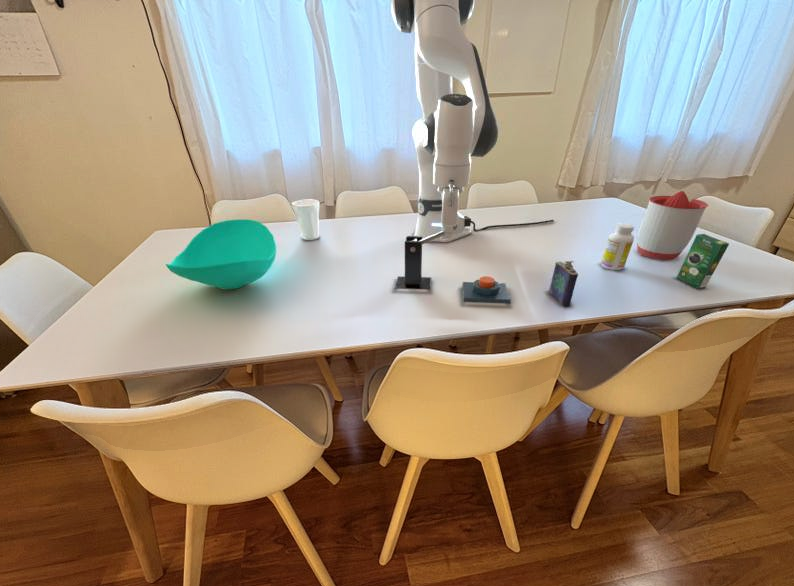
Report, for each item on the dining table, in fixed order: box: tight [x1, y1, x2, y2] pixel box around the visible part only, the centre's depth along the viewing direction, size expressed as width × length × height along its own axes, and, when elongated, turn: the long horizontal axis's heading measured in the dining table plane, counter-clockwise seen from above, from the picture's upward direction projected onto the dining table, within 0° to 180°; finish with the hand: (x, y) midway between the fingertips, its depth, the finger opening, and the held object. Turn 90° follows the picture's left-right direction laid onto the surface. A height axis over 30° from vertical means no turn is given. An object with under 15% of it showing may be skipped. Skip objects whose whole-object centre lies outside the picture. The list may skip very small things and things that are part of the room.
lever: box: [412, 230, 445, 246], centre depth 100 cm, size 12×5×2 cm, turn 83°
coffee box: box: [676, 233, 730, 290], centre depth 104 cm, size 8×3×13 cm, turn 13°
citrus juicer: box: [636, 190, 709, 261], centre depth 121 cm, size 16×17×20 cm
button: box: [478, 276, 496, 288], centre depth 99 cm, size 4×4×2 cm
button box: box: [461, 279, 512, 304], centre depth 101 cm, size 12×10×4 cm
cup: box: [291, 198, 320, 241], centre depth 140 cm, size 10×10×13 cm
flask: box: [548, 260, 579, 308], centre depth 98 cm, size 9×3×11 cm, turn 8°
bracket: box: [394, 235, 432, 291], centre depth 104 cm, size 10×8×14 cm
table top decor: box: [165, 218, 277, 290], centre depth 108 cm, size 40×28×13 cm
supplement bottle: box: [600, 222, 635, 271], centre depth 114 cm, size 7×7×13 cm
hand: (447, 233), depth 99 cm, fingers closed on lever, 5 cm apart
